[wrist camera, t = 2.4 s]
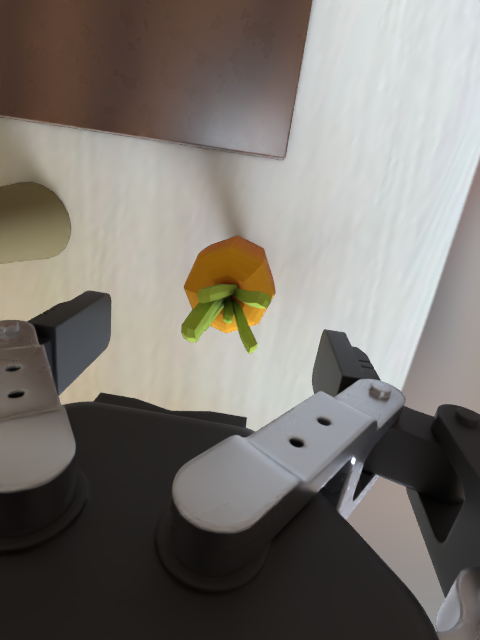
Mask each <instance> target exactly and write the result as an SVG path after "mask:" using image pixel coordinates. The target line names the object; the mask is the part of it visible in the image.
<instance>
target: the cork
mask: <svg viewBox="0 0 480 640" xmlns="http://www.w3.org/2000/svg"><path fill="white" fill-rule="evenodd" d="M70 230H71V225H70V220H69V214H68V212H67V210H66V208H65V206H64V204H63V203H62V201H61V200H60V199H59V198H58V197H57V196H56V195H55V194H54V192H52V191H50V190H49V189H47V188H46V187H44V186H43V185H39V184H36V183H33V182H20V183H15V184H11V185H6V186H2V187H0V264H3V263H12V262H21V261H30V260H39V259H48V258H51V257H53V256H56V255H58V254H59V253H60V252H61V251H62V250H63V249H64V248H65V247H66V245H67V243H68V241H69V238H70Z"/></svg>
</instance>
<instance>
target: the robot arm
mask: <svg viewBox="0 0 480 640" xmlns="http://www.w3.org/2000/svg"><path fill="white" fill-rule="evenodd" d="M110 336H111V297H110V295H109V294H107V293H101V292H95V291H86V292H84V293H83V294H81V295H79V296H78V297H76V298H74V299H72V300H71V301H67V302H63V303H60V304H57V305H56V306H54V307H52V308H50V310H47V311H45V312H43V314H40V315H38V316H36V317H34V318H33V319H31V320H29V321H27V322H26V321H20V320H3V321H0V640H480V414H478V413H476V412H474V411H471V410H469V409H466V408H464V407H461V406H457V405H451V404H450V405H449V404H445V405H441V406H439V407H438V409H437V411H436V414H435V416H434V417H433V416H430V415H427V414H424V413H421V412H418V411H415V410H413V409H410V408H408V407H405V406H404V404H405V400H406V399H405V396H404V395H403V393H402V392H401V391H400V390H398V389H397V388H395V387H394V386H392V385H390V384H388V383H385V382H382V381H381V380H380V378H379V377H378V375H377V373H376V371H375V370H374V367H373V366H372V364H371V363H370V360H369V358H368V356H367V355H366V354H365V353H364V352H362V351H361V350H360V349H359V348H357V347H352V346H351V344H350V342H349V340H348V338H347V336H346V334H345V333H344V332H338V331H332V330H326V329H325V330H324V331H323V333H322V336H321V340H320V344H319V348H318V352H317V356H316V360H315V364H314V368H313V375H312V385H313V390H314V395H313V396H311V397H309V398H308V399H306V400H305V401H303V402H302V403H300V404H298V405H297V406H295V407H294V408H292V409H291V410H289V411H288V412H286V413H284V414H283V415H281V416H280V417H278V418H277V419H275V420H273V421H272V422H270V423H269V424H267V425H266V426H264V427H262V428H261V429H259V430H258V431H256V432H255V431H253V430H251V429H248V428H246V420H247V418H246V417H240V416H234V415H228V414H223V413H217V412H211V411H170V410H167V409H164V408H161V407H158V406H155V405H152V404H150V403H147V402H144V401H141V400H138V399H135V398H129V397H123V396H117V395H111V394H106V393H100V394H99V395H98V397H97V398H96V399H95V400H94V402H77V403H70V404H65V405H61V404H60V400H59V397H58V396H59V395H60V394H61V393H62V392H63V391H64V390H65V389H66V388H67V387H68V386H69V385H70V384H71V383H72V382H73V381H74V380H75V379H76V378H77V377H78V376H79V375H80V374H81V373H82V372H83V371H84V370H85V369H86V368H87V367H88V366H89V365H90V364H91V363H92V362H93V361H94V360H95V359H96V358H97V357H98V356H99V355H100V354H101V353H102V352H103V351H104V350H105V349H106V348H107V346H108V344H109V341H110ZM378 476H381V477H383V478H386V479H388V480H391V481H393V482H396V483H398V484H401V485H403V486H405V487H406V490H407V494H408V497H409V500H410V503H411V505H412V508H413V510H414V514H415V516H416V519H417V522H418V525H419V527H420V530H421V533H422V535H423V538H424V541H425V544H426V546H427V549H428V552H429V555H430V558H431V560H432V563H433V566H434V569H435V571H436V574H437V577H438V580H439V583H440V585H441V588H442V591H443V593H444V596H445V601H444V603H443V605H442V606H441V608H440V610H439V612H438V614H437V618H436V629H437V632H436V631H435V629H434V627H433V624H432V623H431V621H430V619H429V617H428V616H427V614H426V612H425V610H424V609H423V607H422V606H421V604H420V603H419V602H418V600H417V599H416V597H415V596H414V594H413V593H412V592H411V591H410V590H409V589H408V587H407V586H406V585H405V584H404V583H403V582H402V581H401V579H400V578H399V577H398V576H397V575H396V574H395V573H394V572H393V571H392V570H391V569H390V567H388V565H387V564H386V563H385V562H384V561H383V560H382V559H381V558H380V557H379V555H378V554H377V553H376V552H375V551H374V550H373V549H372V548H371V547H370V546H369V545H368V544H367V542H366V541H364V539H363V538H362V537H361V536H360V535H359V534H358V533H357V532H356V531H355V529H354V528H353V527H352V526H351V525H350V524H349V523H348V522H347V521H346V520H347V518H348V517H349V515H350V514H351V512H352V511H353V510H354V508H355V507H356V506H357V505H358V504H359V502H360V501H361V500H362V498H363V497H364V496H365V495H366V493H367V492H368V491H369V489H370V488H371V487H372V486H373V484H374V483H375V482H376V480H377V479H378Z"/></svg>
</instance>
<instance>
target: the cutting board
mask: <svg viewBox="0 0 480 640" xmlns="http://www.w3.org/2000/svg"><path fill="white" fill-rule="evenodd" d="M311 6H312V0H0V117H4V118H11V119H17V120H24V121H30V122H37V123H43V124H50V125H56V126H63V127H70V128H76V129H83V130H89V131H96V132H102V133H109V134H115V135H122V136H129V137H135V138H142V139H148V140H155V141H161V142H168V143H174V144H181V145H188V146H194V147H201V148H207V149H214V150H220V151H227V152H233V153H240V154H246V155H253V156H260V157H266V158H273V159H279V160H284V159H285V157H286V151H287V145H288V139H289V133H290V128H291V122H292V116H293V110H294V104H295V99H296V93H297V87H298V81H299V75H300V70H301V64H302V58H303V52H304V46H305V41H306V35H307V29H308V23H309V17H310V12H311Z"/></svg>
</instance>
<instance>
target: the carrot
mask: <svg viewBox="0 0 480 640" xmlns="http://www.w3.org/2000/svg"><path fill="white" fill-rule="evenodd" d="M184 289H185V292H186V294H187V297H188V299H189V302H190V304H191V307H192V309H193V310H192V311H191V313H190V314H189V315H188V317H187V318H186V320H185V321H184V323H183V324H182V330H181V333H182V335H183V337H184V338H185V339H186V340H188V341H189V342H197V340H198V339H199V337H200V336H201V334H202V333H203V331H206V330H207V328H208V327H209V326H212V327H214V328H216V329H218V330H220V331H222V332H224V333H229V332H232V331H236V330H238V331H239V334H240V338H241V340H242V342H243V344H244V347H245V348H246V350H247V352H248V353H252V352H254V351H255V350H256V348H257V342H256V340H255V337H254V335H253V333H252V331H251V329H250V327H249V326H253V325H256V324H258V323H259V322H260V320H261V318H262V316H263V315H264V313H265V311H266V309H267V307H268V306H269V304H270V302H271V300H272V298H273V296H274V295H275V286H274V281H273V277H272V273H271V270H270V267H269V264H268V261H267V258H266V255H265V251H264V249H263V248H261V247H260V246H258V245H256V244H254V243H252V242H250V241H248V240H246V239H244V238H242V237H240V236H235V237H232V238H229V239H226V240H223V241H220V242H218V243H215V244H212V245H210V246H208V247H207V248H205V249H204V250H202V251H201V252H200V253H199V254H198V256H197V258H196V261H195V263H194V265H193V267H192V269H191V272H190V274H189V276H188V278H187V281H186V283H185V285H184Z"/></svg>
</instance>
